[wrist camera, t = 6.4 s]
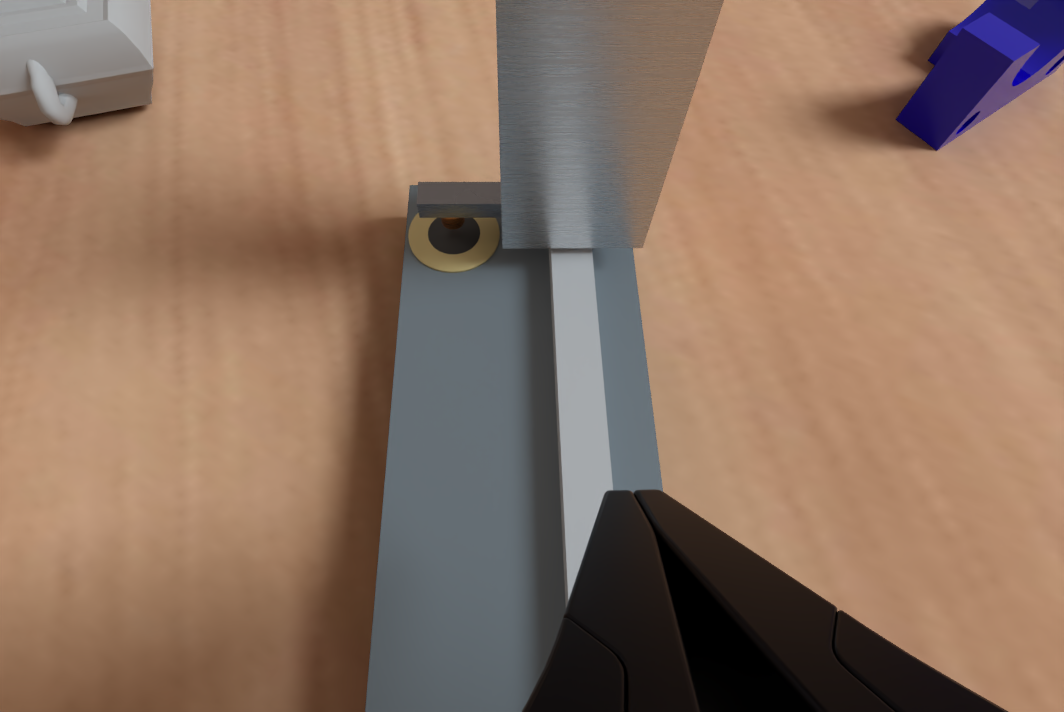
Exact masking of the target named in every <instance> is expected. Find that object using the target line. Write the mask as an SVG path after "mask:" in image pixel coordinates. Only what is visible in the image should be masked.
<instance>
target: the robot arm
mask: <svg viewBox="0 0 1064 712" xmlns="http://www.w3.org/2000/svg"><path fill="white" fill-rule="evenodd" d="M522 712H1008V711H1006V710H1004V709H1003V708H1001V707H999V706H998V705H996V704H994V703H992V702H991V701H989V700H987V699H985V698H984V697H982V696H980V695H978V694H977V693H975V692H973V691H971V690H970V689H968V688H966V687H964V686H963V685H961V684H959V683H957V682H956V681H954V680H952V679H951V678H949V677H947V676H946V675H944V674H942V673H941V672H939V671H937V670H935V669H934V668H932V667H930V666H929V665H927V664H925V663H924V662H922V661H920V660H919V659H917V658H915V657H913V656H912V655H910V654H908V653H907V652H905V651H904V650H902V649H901V648H899V647H897V646H896V645H894V644H893V643H891V642H890V641H888V640H887V639H885V638H883V637H882V636H880V635H879V634H877V633H876V632H874V631H872V630H871V629H869V628H868V627H866V626H865V625H863V624H862V623H860V622H859V621H857V620H856V619H854V618H853V617H851V616H850V615H848V614H847V613H845V612H844V611H842V610H839V611H838V612H837V608H836V606H834V605H833V604H831V603H830V602H828V601H827V600H825V599H824V598H822V597H821V596H819V595H818V594H816V593H815V592H813V591H812V590H810V589H809V588H807V587H806V586H804V585H803V584H801V583H800V582H798V581H797V580H795V579H794V578H792V577H791V576H789V575H788V574H786V573H785V572H783V571H782V570H780V569H779V568H777V567H776V566H774V565H772V564H771V563H769V562H768V561H766V560H765V559H763V558H762V557H760V556H759V555H757V554H756V553H754V552H753V551H751V550H750V549H748V548H747V547H745V546H744V545H742V544H741V543H739V542H738V541H736V540H735V539H733V538H732V537H730V536H729V535H727V534H726V533H724V532H723V531H721V530H720V529H718V528H717V527H715V526H714V525H712V524H711V523H709V522H708V521H706V520H705V519H703V518H702V517H700V516H699V515H697V514H696V513H694V512H693V511H691V510H690V509H688V508H687V507H685V506H684V505H682V504H681V503H679V502H678V501H676V500H675V499H673V498H672V497H670V496H669V495H667V494H666V493H664V492H662V491H661V490H657V489H648V490H635V491H634V492H633V493H632V491H630V490H608V491H606V492H605V493H604V496H603V499H602V502H601V505H600V508H599V511H598V514H597V517H596V520H595V523H594V526H593V529H592V532H591V535H590V538H589V541H588V544H587V547H586V550H585V553H584V556H583V559H582V562H581V565H580V568H579V571H578V574H577V577H576V580H575V583H574V586H573V589H572V592H571V595H570V598H569V601H568V604H567V607H566V610H565V613H564V616H563V619H562V621H561V623H560V626H559V629H558V632H557V635H556V638H555V641H554V643H553V646H552V648H551V651H550V654H549V656H548V659H547V661H546V664H545V666H544V669H543V671H542V673H541V675H540V677H539V679H538V681H537V683H536V685H535V687H534V689H533V691H532V693H531V695H530V697H529V699H528V701H527V703H526V705H525V706H524V708H523V710H522Z"/></svg>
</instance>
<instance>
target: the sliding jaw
mask: <svg viewBox="0 0 1064 712" xmlns="http://www.w3.org/2000/svg"><path fill="white" fill-rule="evenodd" d="M723 1H724V0H496V28H497V64H498V101H499V137H500V174H501V182H418V192H417V208H418V213H419V217H420V218H441V221H442V224H443V226H444V227H446V228H448V229H458V228H460V227H461V226H462V225H463V224H464V222H465V218H502V247H503V248H643V245H644V242H645V239H646V236H647V233H648V230H649V227H650V224H651V220H652V217H653V214H654V211H655V208H656V205H657V202H658V199H659V196H660V193H661V190H662V187H663V184H664V181H665V178H666V175H667V172H668V169H669V166H670V163H671V160H672V157H673V154H674V151H675V147H676V144H677V141H678V138H679V135H680V132H681V129H682V126H683V123H684V120H685V117H686V114H687V111H688V108H689V105H690V102H691V99H692V96H693V93H694V90H695V87H696V84H697V81H698V77H699V74H700V71H701V68H702V65H703V62H704V59H705V56H706V53H707V50H708V47H709V44H710V41H711V38H712V35H713V32H714V29H715V26H716V23H717V20H718V17H719V14H720V11H721V8H722V4H723Z"/></svg>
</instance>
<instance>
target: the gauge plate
mask: <svg viewBox="0 0 1064 712" xmlns="http://www.w3.org/2000/svg"><path fill="white" fill-rule="evenodd" d="M417 192H418V185H410V190H409V202H408V213H407V225H406V237H405V249H404V261H403V272H402V284H401V296H400V308H399V319H398V331H397V343H396V355H395V366H394V378H393V390H392V402H391V414H390V425H389V437H388V449H387V461H386V472H385V484H384V496H383V508H382V519H381V531H380V543H379V555H378V566H377V578H376V590H375V602H374V614H373V625H372V637H371V649H370V661H369V672H368V684H367V696H366V708H365V712H522V710H523V708H524V706H525V705H526V703H527V701H528V699H529V697H530V695H531V693H532V691H533V689H534V687H535V685H536V683H537V681H538V679H539V677H540V675H541V673H542V671H543V669H544V666H545V664H546V661H547V659H548V656H549V654H550V651H551V648H552V646H553V643H554V641H555V638H556V635H557V632H558V629H559V626H560V623H561V621H562V619H563V616H564V613H565V610H566V607H567V604H568V601H569V598H570V595H571V592H572V589H573V586H574V583H575V580H576V577H577V574H578V571H579V568H580V565H581V562H582V559H583V556H584V553H585V550H586V547H587V544H588V541H589V538H590V535H591V532H592V529H593V526H594V523H595V520H596V517H597V514H598V511H599V508H600V505H601V502H602V499H603V496H604V493H605V492H606V491H608V490H630V491H632V493H633V492H634V491H635V490H648V489H657V490H661V491H662V492H663V488H662V480H661V472H660V464H659V456H658V448H657V440H656V432H655V424H654V416H653V408H652V400H651V392H650V384H649V376H648V368H647V360H646V352H645V344H644V336H643V328H642V320H641V312H640V304H639V296H638V288H637V280H636V272H635V264H634V256H633V248H503V247H502V218H465V222H464V224H463V225H462V226H461V227H460V228H458V229H448V228H446V227H444V226H443V224H442V221H441V218H420V217H419V213H418V208H417Z"/></svg>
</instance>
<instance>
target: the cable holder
mask: <svg viewBox="0 0 1064 712" xmlns="http://www.w3.org/2000/svg"><path fill="white" fill-rule="evenodd" d="M928 61H929V62H931V63H932V64H934V65H935V66H934V68H933V69H932V70H931V72H930V73H929V74H928V76H927V77H926V79H925V80H924V81H923V83H922V84H921V85H920V87H919V88H918V90H917V91H916V92H915V94H914V95H913V96H912V98H911V99H910V100H909V102H908V103H907V105H906V106H905V107H904V109H903V110H902V111H901V113H900V114H899V115H898V117H897V118H896V120H897V121H898V122H899V123H901V124H902V125H903V126H905V127H906V128H907V129H909V130H910V131H911V132H913V133H914V134H915V135H917V136H918V137H919V138H921V139H922V140H923V141H925V142H926V143H927V144H929V145H930V146H931V147H933V148H934V149H935V150H939V149H940V148H942V147H943V146H945V145H946V144H948V143H949V142H951V141H952V140H954V139H955V138H957V137H958V136H960V135H961V134H963V133H964V132H966V131H967V130H969V129H970V128H972V127H973V126H975V125H976V124H978V123H979V122H981V121H982V120H984V119H985V118H987V117H988V116H990V115H991V114H993V113H994V112H996V111H997V110H999V109H1000V108H1002V107H1003V106H1005V105H1006V104H1008V103H1009V102H1011V101H1012V100H1014V99H1015V98H1017V97H1018V96H1020V95H1021V94H1023V93H1024V92H1026V91H1027V90H1029V89H1030V88H1032V87H1033V86H1035V85H1036V84H1038V83H1039V82H1041V81H1042V80H1043V79H1045V78H1046V77H1048V76H1049V75H1051V74H1052V73H1054V72H1055V71H1056V70H1057V69H1058V68H1059V67H1060V66H1061V65H1062V64H1063V63H1064V0H986V1H985V2H984V3H983V4H982V5H981V6H980V7H978V8H977V9H976V10H975V11H974V12H973V13H972V14H971V15H970V16H968V17H967V18H966V19H965V20H964V21H962V22H961V23H960V24H958V25H957V26H956V27H954V28H953V29H951V30H950V31H949V32H948V33H947V34H946V36H945V37H944V39H943V40H942V41H941V43H940V44H939V46H938V47H937V48H936V50H935V51H934V53H933V54H932V55H931V57H930V58H929V60H928Z"/></svg>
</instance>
